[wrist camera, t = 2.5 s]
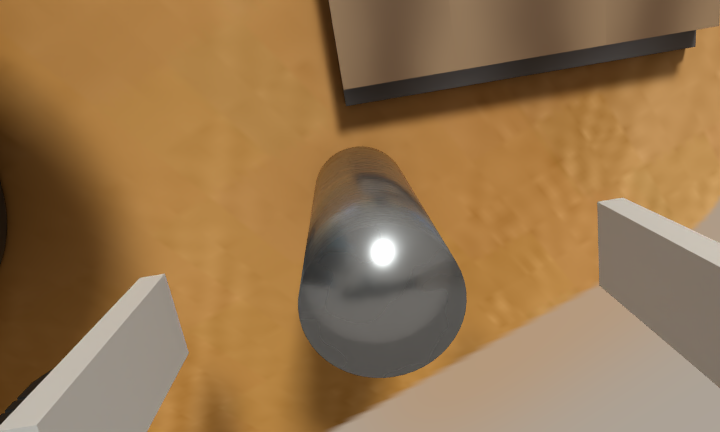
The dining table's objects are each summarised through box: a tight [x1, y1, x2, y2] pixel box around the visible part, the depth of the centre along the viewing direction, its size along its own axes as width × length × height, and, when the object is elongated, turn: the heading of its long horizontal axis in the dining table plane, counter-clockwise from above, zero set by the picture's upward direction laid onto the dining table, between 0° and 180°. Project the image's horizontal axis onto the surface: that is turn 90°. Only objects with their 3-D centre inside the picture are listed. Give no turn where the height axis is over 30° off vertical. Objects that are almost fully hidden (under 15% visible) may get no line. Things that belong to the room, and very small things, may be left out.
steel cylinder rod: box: [298, 147, 466, 378], centre depth 19 cm, size 4×4×12 cm
